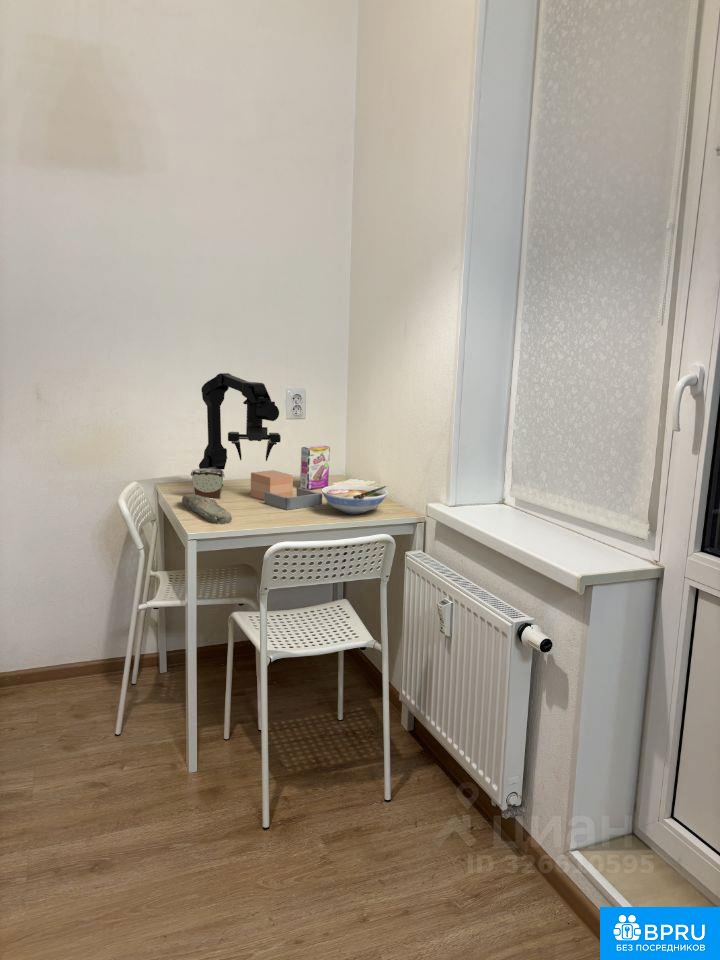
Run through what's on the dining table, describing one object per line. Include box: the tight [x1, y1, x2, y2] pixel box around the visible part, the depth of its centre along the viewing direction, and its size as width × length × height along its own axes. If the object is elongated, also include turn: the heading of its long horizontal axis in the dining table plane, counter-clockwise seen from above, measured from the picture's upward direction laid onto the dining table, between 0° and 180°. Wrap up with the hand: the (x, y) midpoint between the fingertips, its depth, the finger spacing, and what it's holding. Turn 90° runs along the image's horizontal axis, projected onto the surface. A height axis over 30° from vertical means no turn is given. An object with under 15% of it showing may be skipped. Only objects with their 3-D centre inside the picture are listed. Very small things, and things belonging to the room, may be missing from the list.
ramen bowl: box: [320, 484, 389, 515], centre depth 265 cm, size 25×23×8 cm
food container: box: [190, 468, 226, 500], centre depth 281 cm, size 12×6×10 cm, turn 84°
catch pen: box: [264, 487, 323, 511], centre depth 274 cm, size 13×15×4 cm
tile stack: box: [250, 469, 294, 501], centre depth 283 cm, size 12×10×9 cm
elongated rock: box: [181, 493, 233, 525], centre depth 257 cm, size 35×5×10 cm
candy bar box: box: [299, 445, 331, 491], centre depth 304 cm, size 11×5×16 cm, turn 136°
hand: (253, 460), depth 283 cm, fingers open, 9 cm apart
